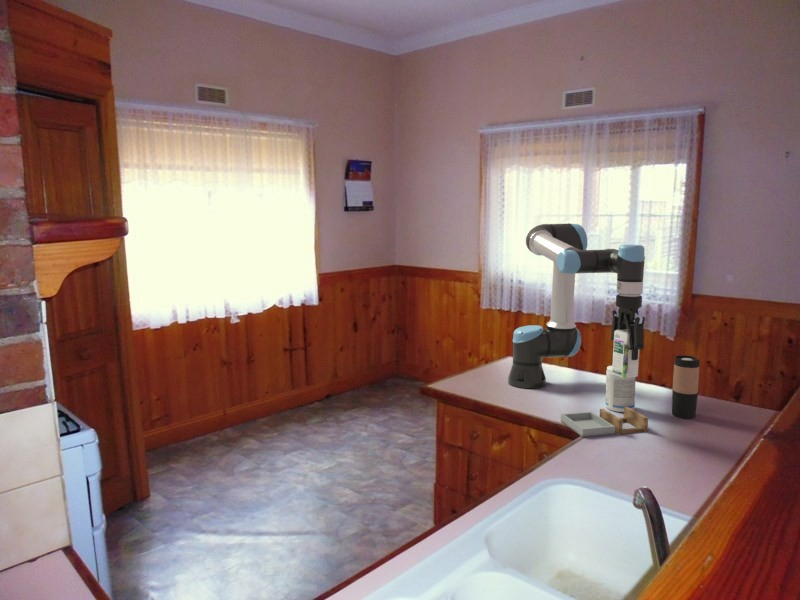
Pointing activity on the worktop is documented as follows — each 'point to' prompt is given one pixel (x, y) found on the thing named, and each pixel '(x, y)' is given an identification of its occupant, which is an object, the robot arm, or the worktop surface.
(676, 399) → the travel mug
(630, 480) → the worktop surface
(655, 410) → the worktop surface
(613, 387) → the supplement tub
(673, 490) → the worktop surface
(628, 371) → the syrup box
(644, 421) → the cradle
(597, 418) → the tray
